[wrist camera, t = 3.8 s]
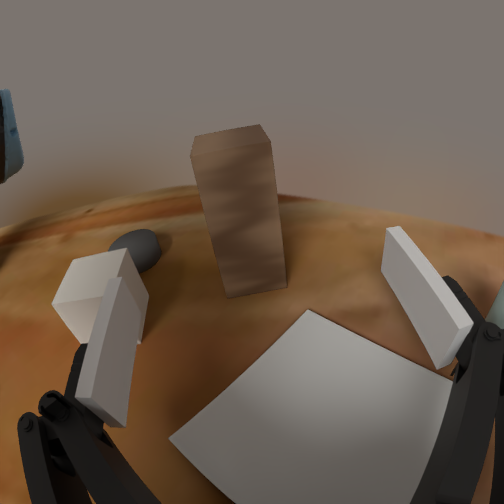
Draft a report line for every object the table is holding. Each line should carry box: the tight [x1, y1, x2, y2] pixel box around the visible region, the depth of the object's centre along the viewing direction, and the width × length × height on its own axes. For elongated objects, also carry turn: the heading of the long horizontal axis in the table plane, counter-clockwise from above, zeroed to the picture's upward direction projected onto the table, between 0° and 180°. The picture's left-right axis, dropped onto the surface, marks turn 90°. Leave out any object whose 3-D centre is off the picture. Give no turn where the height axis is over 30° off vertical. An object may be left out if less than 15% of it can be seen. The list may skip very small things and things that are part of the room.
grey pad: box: [168, 310, 453, 504], centre depth 13 cm, size 12×12×1 cm
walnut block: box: [190, 125, 287, 298], centre depth 21 cm, size 4×4×11 cm
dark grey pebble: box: [108, 229, 161, 274], centre depth 28 cm, size 5×5×2 cm
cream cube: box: [52, 248, 149, 344], centre depth 21 cm, size 5×5×5 cm
